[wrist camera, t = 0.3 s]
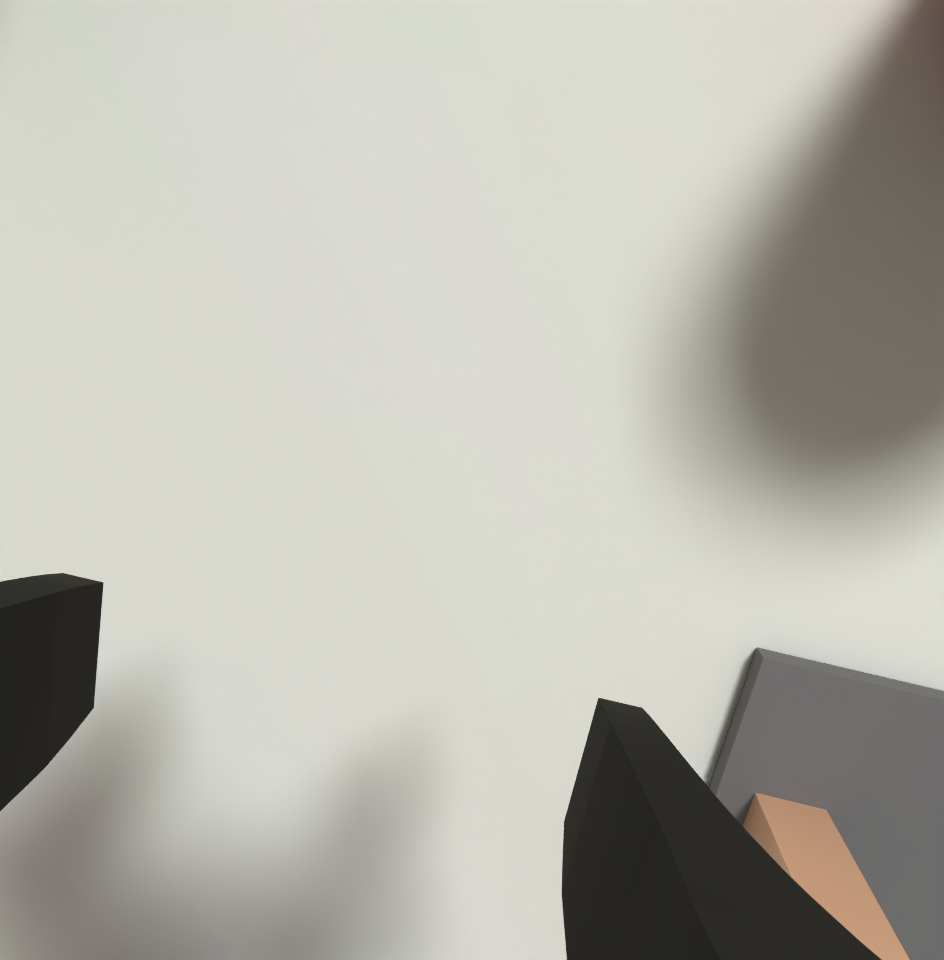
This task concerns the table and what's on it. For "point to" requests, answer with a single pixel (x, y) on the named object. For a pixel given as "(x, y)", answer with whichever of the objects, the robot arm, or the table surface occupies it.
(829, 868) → the tile
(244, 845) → the table surface
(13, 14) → the table surface
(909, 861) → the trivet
